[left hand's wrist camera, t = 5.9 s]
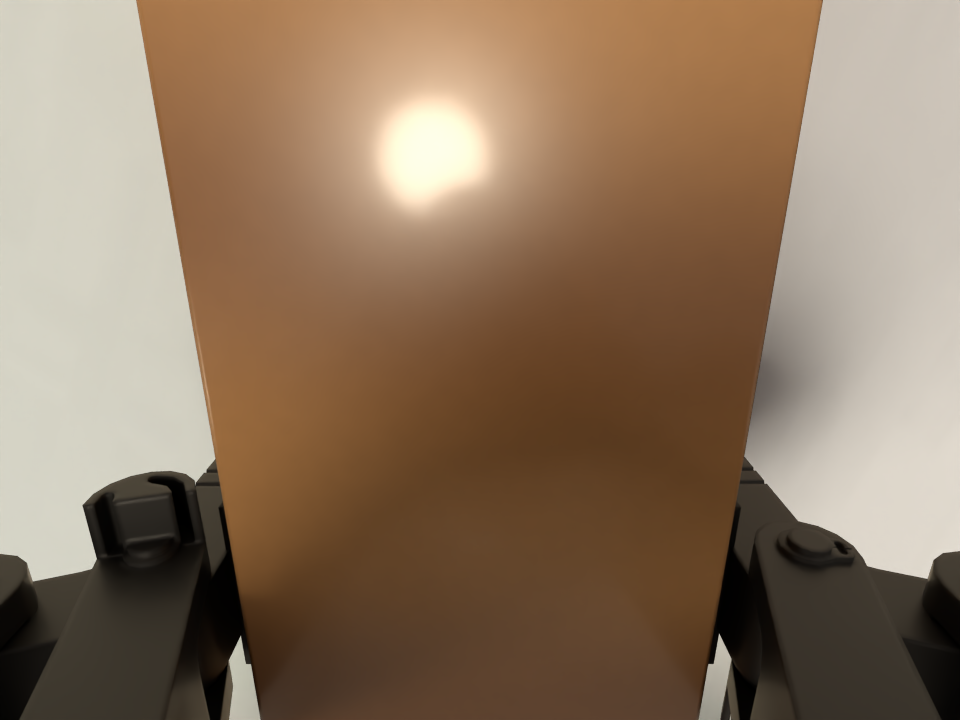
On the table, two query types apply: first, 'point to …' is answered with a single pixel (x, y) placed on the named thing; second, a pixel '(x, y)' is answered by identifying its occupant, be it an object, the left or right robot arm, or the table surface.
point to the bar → (479, 333)
